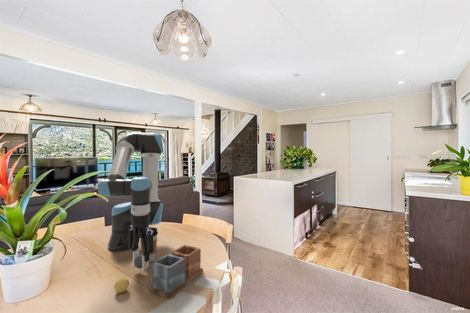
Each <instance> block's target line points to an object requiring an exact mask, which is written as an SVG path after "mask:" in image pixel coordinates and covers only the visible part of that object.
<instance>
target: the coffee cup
mask: <svg viewBox="0 0 470 313" xmlns="http://www.w3.org/2000/svg"><path fill="white" fill-rule="evenodd" d="M149 229H151V230H154V234H153V252H152V253H150V254H149V263H153V262H155V261H156V252H157V242H158V235H159V232H158V228H157V227H153V226H152V227H150V226H149ZM143 236H144V235H143ZM139 244H140V251H141V255H142V254H144V252H143V247H142V241H141V239H139Z"/></svg>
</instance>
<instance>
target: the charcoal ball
mask: <svg viewBox="0 0 470 313" xmlns="http://www.w3.org/2000/svg"><path fill="white" fill-rule="evenodd" d="M134 265H135V268H136V269H142V255H139V256H138V257H137V258H136V259H135V261H134Z"/></svg>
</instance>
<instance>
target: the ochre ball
mask: <svg viewBox="0 0 470 313" xmlns="http://www.w3.org/2000/svg"><path fill="white" fill-rule="evenodd" d="M129 286H130V281H129V279H128V278H127V277H125V276H124V277H123V276H122V277H119V278H118V279H116V281H115V282H114V286H113V288H114V291H115V292H116V293H120V294H121V293H125V291H126V290H128V288H129Z"/></svg>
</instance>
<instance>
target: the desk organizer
mask: <svg viewBox="0 0 470 313" xmlns="http://www.w3.org/2000/svg"><path fill="white" fill-rule="evenodd" d="M201 250H202V249H201V248H200V247H196V246H191V245H188V244H187V245H186V244H184V245H181V246H180V247H179V248H176V249H175V250H173V251H171V254H169V253H167V254H166V255H164V256H162V257H160V258H158V259H155V260H154V261H152V262H151V264H152V267H151V271H152V272H151V283H152V284H151V286H149V287H148V293H152V294H154V295H157V296H159V297H162V298H165V299H167V300H171V298H173V297H174V296H175V295H176V294H178V293H179V292H181V290H183V289H184V288H186V287H187V286H188V285H189V284H190V283H191V282H193V281H194V280H195V279H196V278H197V277H199V276H200V275H201V274H202V273H203V272H204V268H202V267H201V264H202V263H201V262H202V260H201Z"/></svg>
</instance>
